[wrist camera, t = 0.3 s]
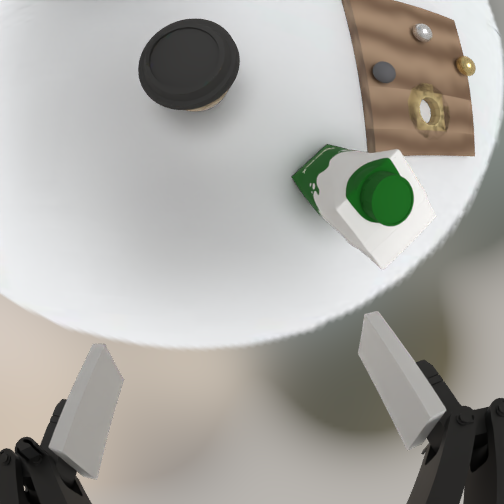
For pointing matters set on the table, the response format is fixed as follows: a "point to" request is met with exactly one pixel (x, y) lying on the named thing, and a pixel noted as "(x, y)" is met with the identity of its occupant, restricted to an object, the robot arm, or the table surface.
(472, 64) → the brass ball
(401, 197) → the milk carton
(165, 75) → the coffee cup
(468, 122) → the board
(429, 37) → the steel ball
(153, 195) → the table surface
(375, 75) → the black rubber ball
